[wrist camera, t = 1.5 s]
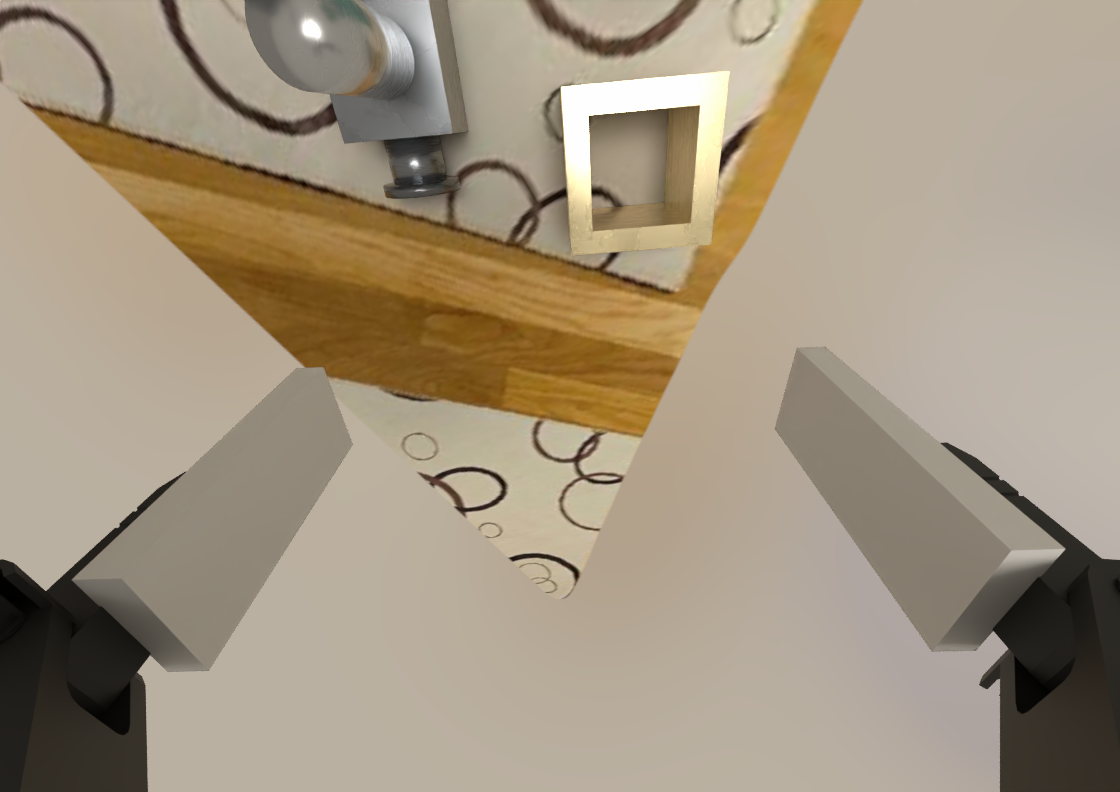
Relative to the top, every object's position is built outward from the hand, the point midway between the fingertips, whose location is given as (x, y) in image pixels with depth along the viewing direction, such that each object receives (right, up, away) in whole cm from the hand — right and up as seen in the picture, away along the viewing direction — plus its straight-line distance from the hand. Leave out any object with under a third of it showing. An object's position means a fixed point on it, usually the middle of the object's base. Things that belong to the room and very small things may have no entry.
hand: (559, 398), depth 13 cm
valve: (-9, +20, +13) cm, 26 cm away
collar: (+4, +16, +16) cm, 23 cm away
